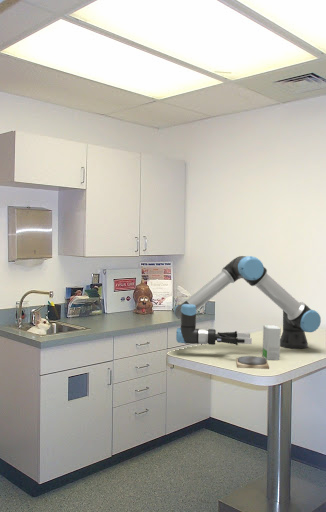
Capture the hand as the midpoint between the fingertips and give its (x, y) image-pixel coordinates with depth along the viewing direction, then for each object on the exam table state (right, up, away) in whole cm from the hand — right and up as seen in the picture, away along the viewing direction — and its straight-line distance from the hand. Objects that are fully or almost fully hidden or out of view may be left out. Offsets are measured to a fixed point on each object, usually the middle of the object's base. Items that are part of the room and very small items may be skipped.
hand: (250, 338), depth 238 cm
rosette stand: (-2, -9, -15) cm, 18 cm away
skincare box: (+10, -10, -1) cm, 14 cm away
